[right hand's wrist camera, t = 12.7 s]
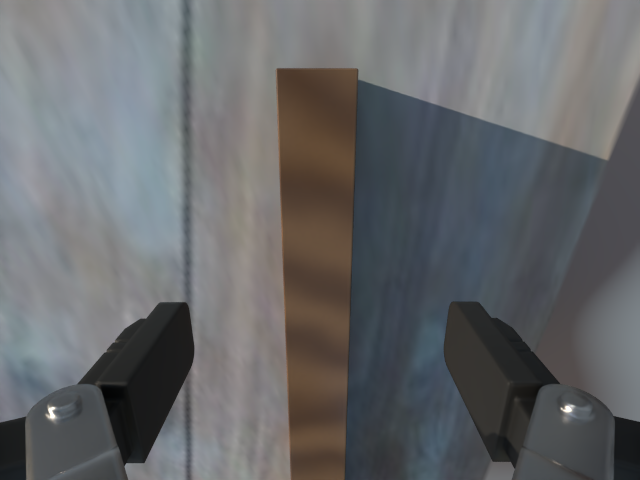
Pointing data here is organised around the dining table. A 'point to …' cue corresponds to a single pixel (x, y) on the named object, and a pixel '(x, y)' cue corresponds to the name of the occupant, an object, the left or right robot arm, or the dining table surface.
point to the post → (317, 259)
